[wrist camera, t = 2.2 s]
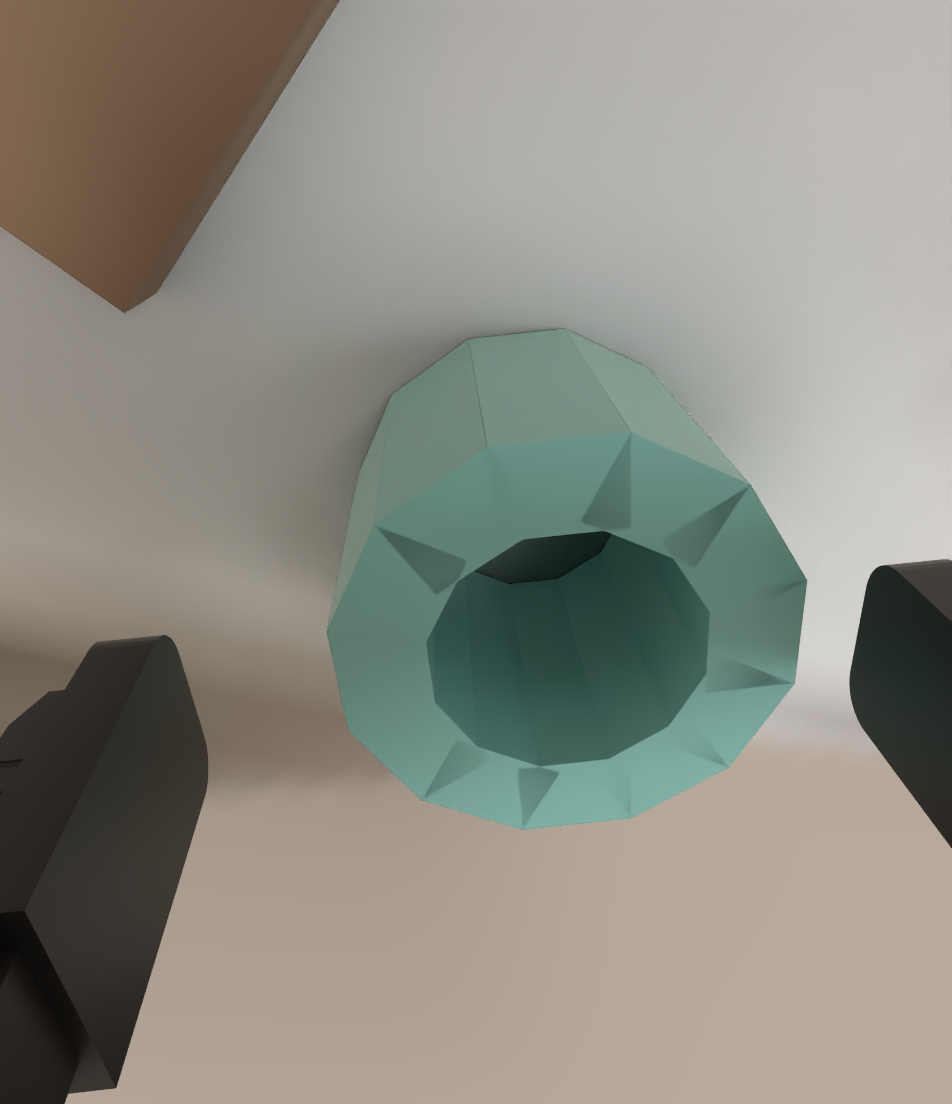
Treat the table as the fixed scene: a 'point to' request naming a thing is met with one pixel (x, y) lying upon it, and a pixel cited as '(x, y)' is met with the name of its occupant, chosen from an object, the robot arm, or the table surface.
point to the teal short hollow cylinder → (556, 590)
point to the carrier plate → (134, 123)
